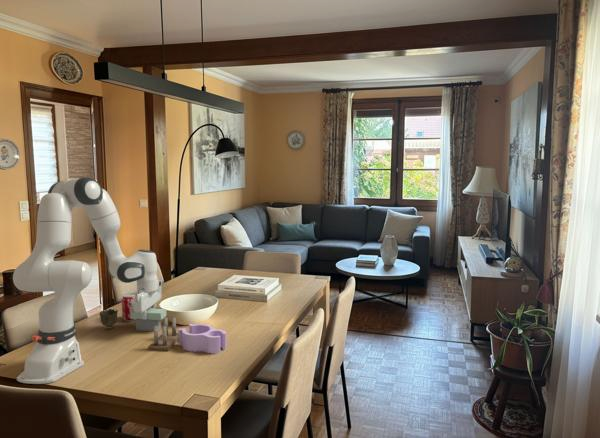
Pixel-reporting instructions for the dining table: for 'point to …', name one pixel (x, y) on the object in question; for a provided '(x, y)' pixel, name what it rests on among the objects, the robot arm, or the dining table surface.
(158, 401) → the dining table surface
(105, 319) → the cup
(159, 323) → the board rest
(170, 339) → the peg stand
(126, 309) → the soda can
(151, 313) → the shelf board
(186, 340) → the clip
